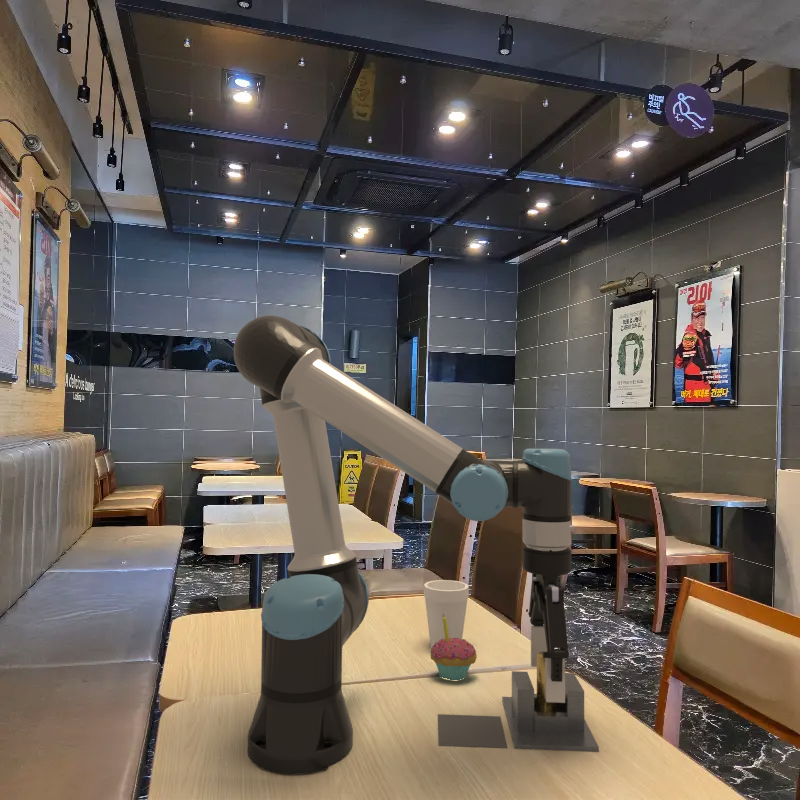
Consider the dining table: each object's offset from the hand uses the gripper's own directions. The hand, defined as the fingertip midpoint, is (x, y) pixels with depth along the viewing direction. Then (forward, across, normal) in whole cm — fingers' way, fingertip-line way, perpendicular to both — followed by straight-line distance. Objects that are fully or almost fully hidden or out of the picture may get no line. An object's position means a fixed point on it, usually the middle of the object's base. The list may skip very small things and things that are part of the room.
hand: (546, 682), depth 99 cm
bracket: (+7, 0, 0) cm, 7 cm away
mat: (+7, -3, +12) cm, 14 cm away
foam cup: (+7, +34, +15) cm, 38 cm away
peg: (+6, 0, 0) cm, 6 cm away
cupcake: (+7, +18, +14) cm, 24 cm away
